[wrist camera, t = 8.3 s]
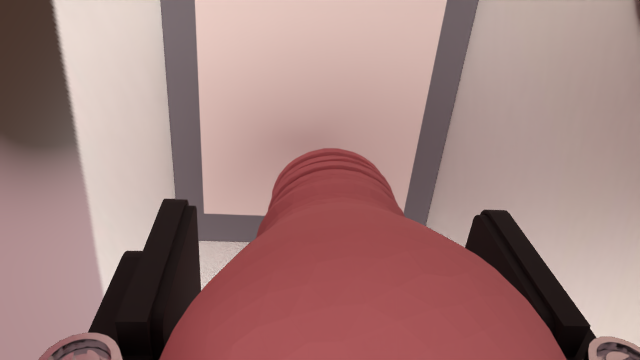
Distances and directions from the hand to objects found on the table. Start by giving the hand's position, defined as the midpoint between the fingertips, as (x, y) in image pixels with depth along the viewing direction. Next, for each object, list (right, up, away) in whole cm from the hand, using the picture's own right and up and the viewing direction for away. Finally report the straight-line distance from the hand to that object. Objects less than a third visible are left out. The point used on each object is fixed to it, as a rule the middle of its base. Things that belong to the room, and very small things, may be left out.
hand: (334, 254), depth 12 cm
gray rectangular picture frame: (-1, +7, +11) cm, 13 cm away
